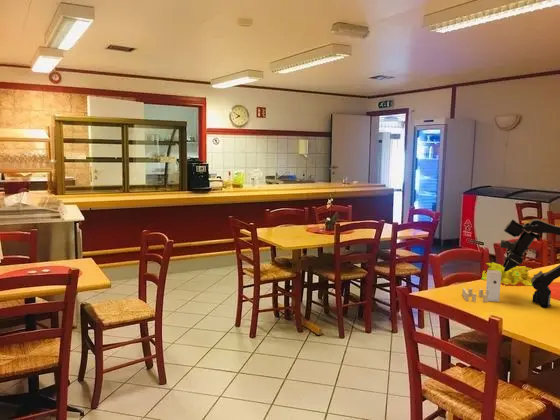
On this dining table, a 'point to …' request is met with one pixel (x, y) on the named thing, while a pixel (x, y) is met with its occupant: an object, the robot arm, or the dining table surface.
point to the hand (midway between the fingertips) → (504, 269)
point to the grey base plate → (473, 295)
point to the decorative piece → (511, 275)
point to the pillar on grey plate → (493, 285)
